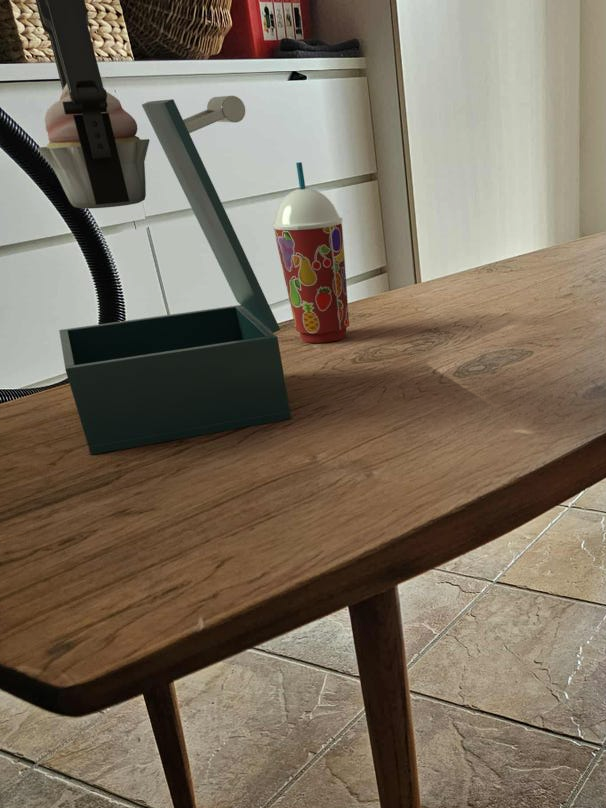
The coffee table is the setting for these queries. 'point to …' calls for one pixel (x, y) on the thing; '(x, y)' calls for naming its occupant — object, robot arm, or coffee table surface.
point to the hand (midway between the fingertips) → (108, 198)
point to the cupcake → (70, 159)
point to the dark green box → (173, 377)
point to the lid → (210, 194)
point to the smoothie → (313, 263)
